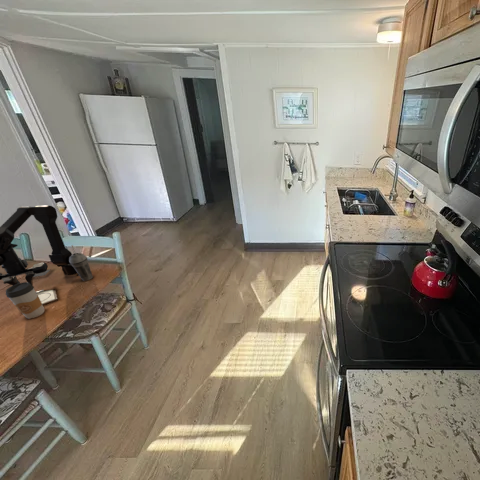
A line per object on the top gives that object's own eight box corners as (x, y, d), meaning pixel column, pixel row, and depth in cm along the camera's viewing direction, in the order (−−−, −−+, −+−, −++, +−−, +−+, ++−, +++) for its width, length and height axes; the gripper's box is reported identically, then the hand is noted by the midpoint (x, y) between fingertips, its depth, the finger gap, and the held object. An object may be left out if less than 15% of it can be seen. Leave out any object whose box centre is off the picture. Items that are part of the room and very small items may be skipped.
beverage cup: (77, 283, 140) (59, 251, 131) (81, 276, 146) (64, 244, 136) (94, 280, 143) (78, 247, 134) (97, 273, 149) (82, 241, 139)
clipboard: (54, 287, 137) (53, 285, 137) (57, 299, 129) (56, 297, 128) (22, 298, 130) (20, 296, 129) (23, 312, 121) (21, 310, 120)
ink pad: (53, 270, 152) (52, 268, 151) (46, 276, 146) (45, 275, 146) (37, 272, 150) (37, 271, 150) (30, 279, 144) (29, 278, 144)
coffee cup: (18, 322, 115) (-1, 295, 108) (28, 310, 122) (10, 284, 115) (43, 317, 118) (25, 290, 111) (51, 305, 125) (35, 279, 118)
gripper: (41, 246, 127) (56, 273, 134) (-16, 259, 118) (4, 287, 125) (37, 256, 119) (53, 284, 127) (-25, 270, 110) (-3, 300, 117)
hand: (28, 288), depth 124 cm, fingers closed on stamp, 2 cm apart
